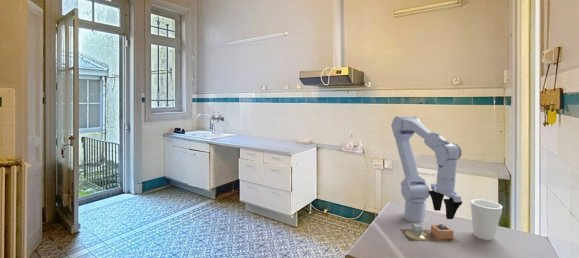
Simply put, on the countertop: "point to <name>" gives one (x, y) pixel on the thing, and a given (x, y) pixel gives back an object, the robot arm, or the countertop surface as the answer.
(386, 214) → the countertop surface
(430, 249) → the countertop surface
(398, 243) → the countertop surface
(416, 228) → the hub
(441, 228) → the stand rod
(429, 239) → the jig board
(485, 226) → the foam cup
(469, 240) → the countertop surface
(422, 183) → the robot arm
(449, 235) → the collar
